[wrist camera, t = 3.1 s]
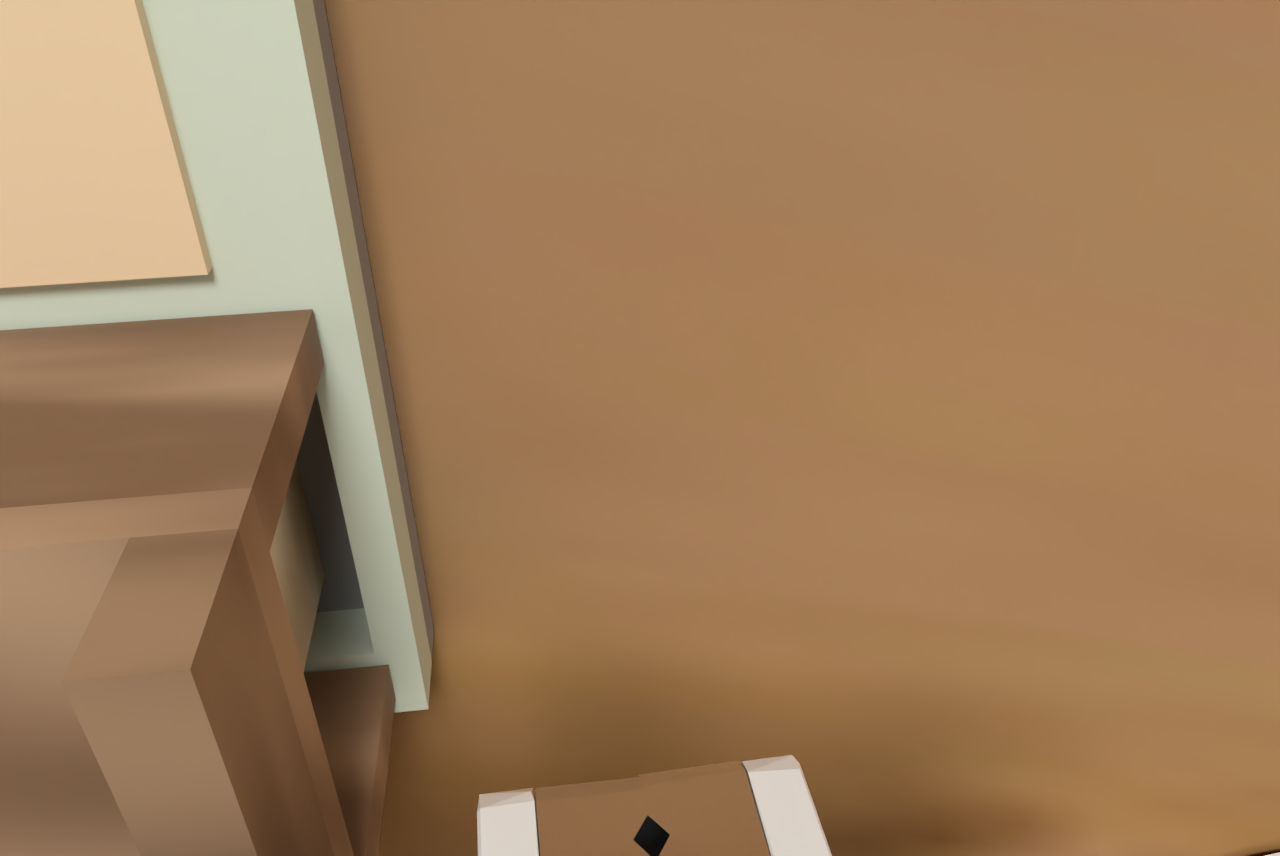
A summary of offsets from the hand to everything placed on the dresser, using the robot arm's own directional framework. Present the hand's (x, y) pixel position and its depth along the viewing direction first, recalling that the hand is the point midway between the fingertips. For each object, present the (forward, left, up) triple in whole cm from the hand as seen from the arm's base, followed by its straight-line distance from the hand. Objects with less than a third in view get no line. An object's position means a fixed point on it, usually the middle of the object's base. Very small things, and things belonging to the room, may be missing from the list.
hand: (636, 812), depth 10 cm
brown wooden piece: (+3, +8, -9) cm, 12 cm away
